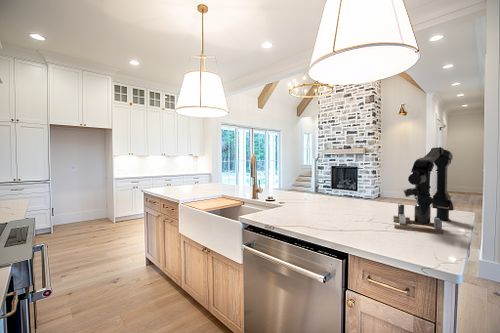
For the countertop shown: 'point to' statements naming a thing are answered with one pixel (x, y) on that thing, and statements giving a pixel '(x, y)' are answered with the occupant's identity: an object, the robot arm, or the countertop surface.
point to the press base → (420, 225)
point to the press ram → (401, 215)
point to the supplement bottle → (422, 218)
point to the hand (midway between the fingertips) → (422, 213)
